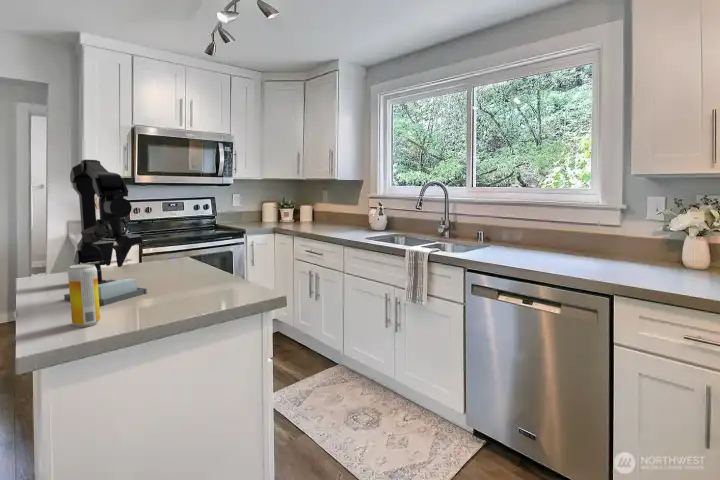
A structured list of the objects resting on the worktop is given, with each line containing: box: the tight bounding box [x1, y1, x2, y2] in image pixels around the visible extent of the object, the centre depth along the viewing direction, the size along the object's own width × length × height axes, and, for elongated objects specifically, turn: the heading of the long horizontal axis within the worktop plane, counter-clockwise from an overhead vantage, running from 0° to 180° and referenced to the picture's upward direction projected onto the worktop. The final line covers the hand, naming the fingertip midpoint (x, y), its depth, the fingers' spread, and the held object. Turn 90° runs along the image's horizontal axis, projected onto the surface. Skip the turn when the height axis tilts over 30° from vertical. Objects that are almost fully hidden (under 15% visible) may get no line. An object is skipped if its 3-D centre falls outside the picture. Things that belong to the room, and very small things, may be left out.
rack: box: [63, 279, 148, 307], centre depth 135 cm, size 16×16×4 cm
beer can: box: [67, 263, 101, 328], centre depth 109 cm, size 6×6×15 cm
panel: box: [98, 278, 138, 299], centre depth 134 cm, size 4×12×5 cm, turn 156°
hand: (113, 266), depth 133 cm, fingers open, 5 cm apart
